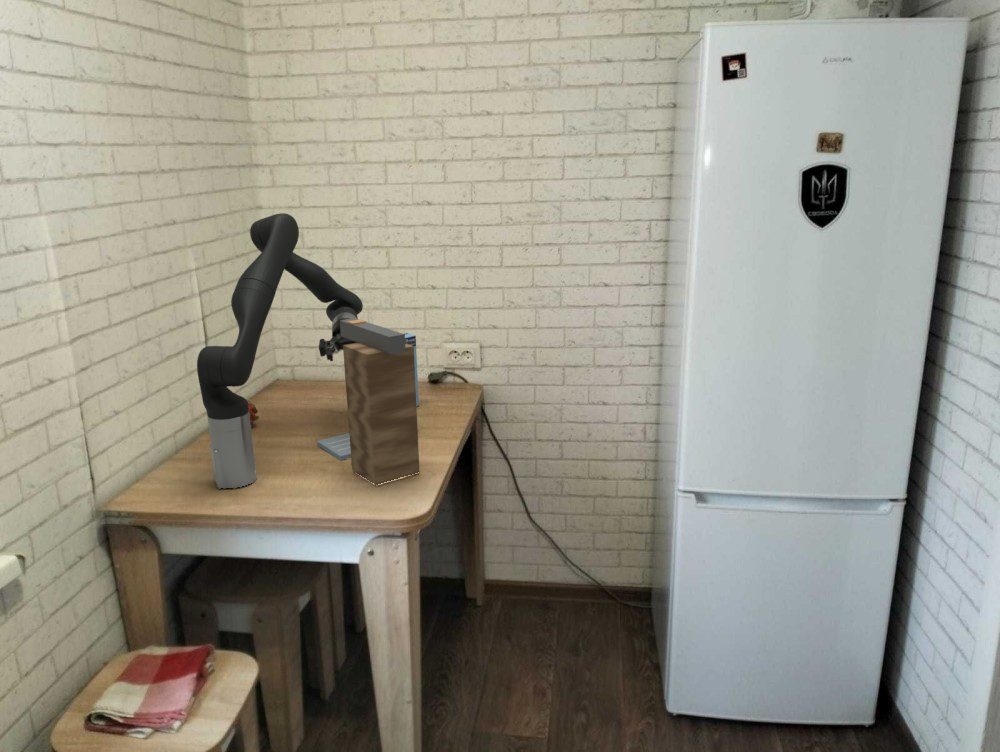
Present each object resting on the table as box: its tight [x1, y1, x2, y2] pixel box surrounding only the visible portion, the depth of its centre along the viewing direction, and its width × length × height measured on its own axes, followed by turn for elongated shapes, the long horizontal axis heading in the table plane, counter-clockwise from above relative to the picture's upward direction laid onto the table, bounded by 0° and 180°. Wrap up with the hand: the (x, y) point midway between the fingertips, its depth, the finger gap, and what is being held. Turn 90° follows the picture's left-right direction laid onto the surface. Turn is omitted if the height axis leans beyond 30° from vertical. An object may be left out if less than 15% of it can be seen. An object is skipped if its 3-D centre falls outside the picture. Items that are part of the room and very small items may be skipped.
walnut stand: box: [342, 343, 420, 485], centre depth 176 cm, size 12×12×32 cm
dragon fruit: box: [247, 400, 260, 428], centre depth 211 cm, size 8×8×12 cm
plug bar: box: [340, 318, 406, 354], centre depth 173 cm, size 24×4×4 cm, turn 38°
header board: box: [316, 432, 351, 461], centre depth 196 cm, size 14×10×1 cm
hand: (347, 354), depth 186 cm, fingers open, 8 cm apart
